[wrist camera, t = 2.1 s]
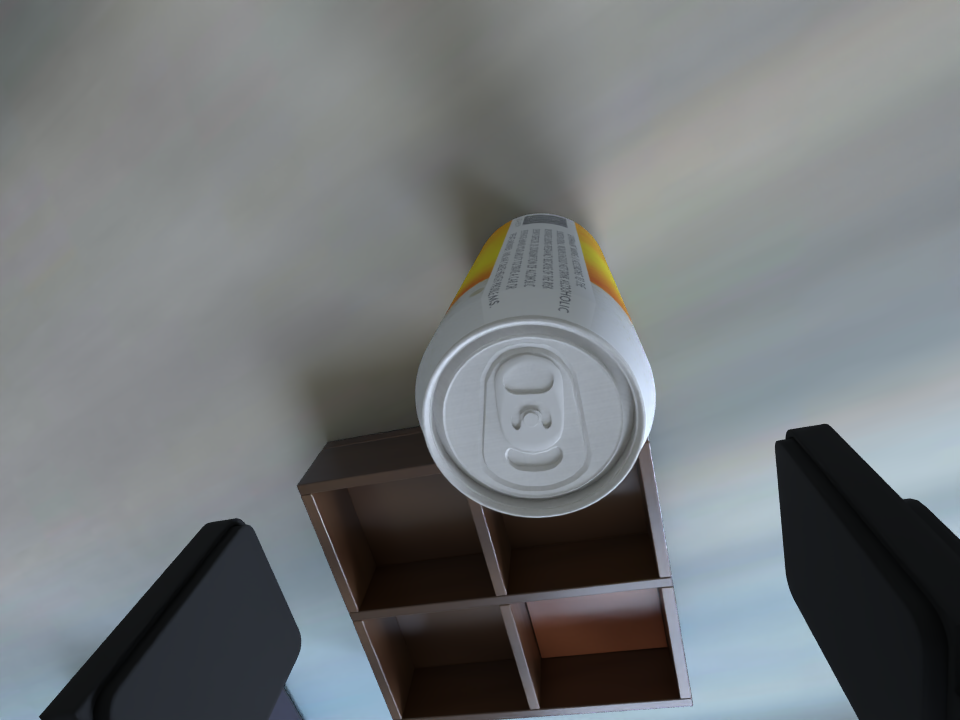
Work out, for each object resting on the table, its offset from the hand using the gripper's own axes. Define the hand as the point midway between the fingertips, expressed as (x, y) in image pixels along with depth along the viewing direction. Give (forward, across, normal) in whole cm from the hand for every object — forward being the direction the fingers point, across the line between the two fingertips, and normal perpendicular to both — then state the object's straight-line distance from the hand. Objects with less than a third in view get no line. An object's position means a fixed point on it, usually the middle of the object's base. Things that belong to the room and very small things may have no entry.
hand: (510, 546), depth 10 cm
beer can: (+19, -1, 0) cm, 19 cm away
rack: (+19, +4, +15) cm, 25 cm away
